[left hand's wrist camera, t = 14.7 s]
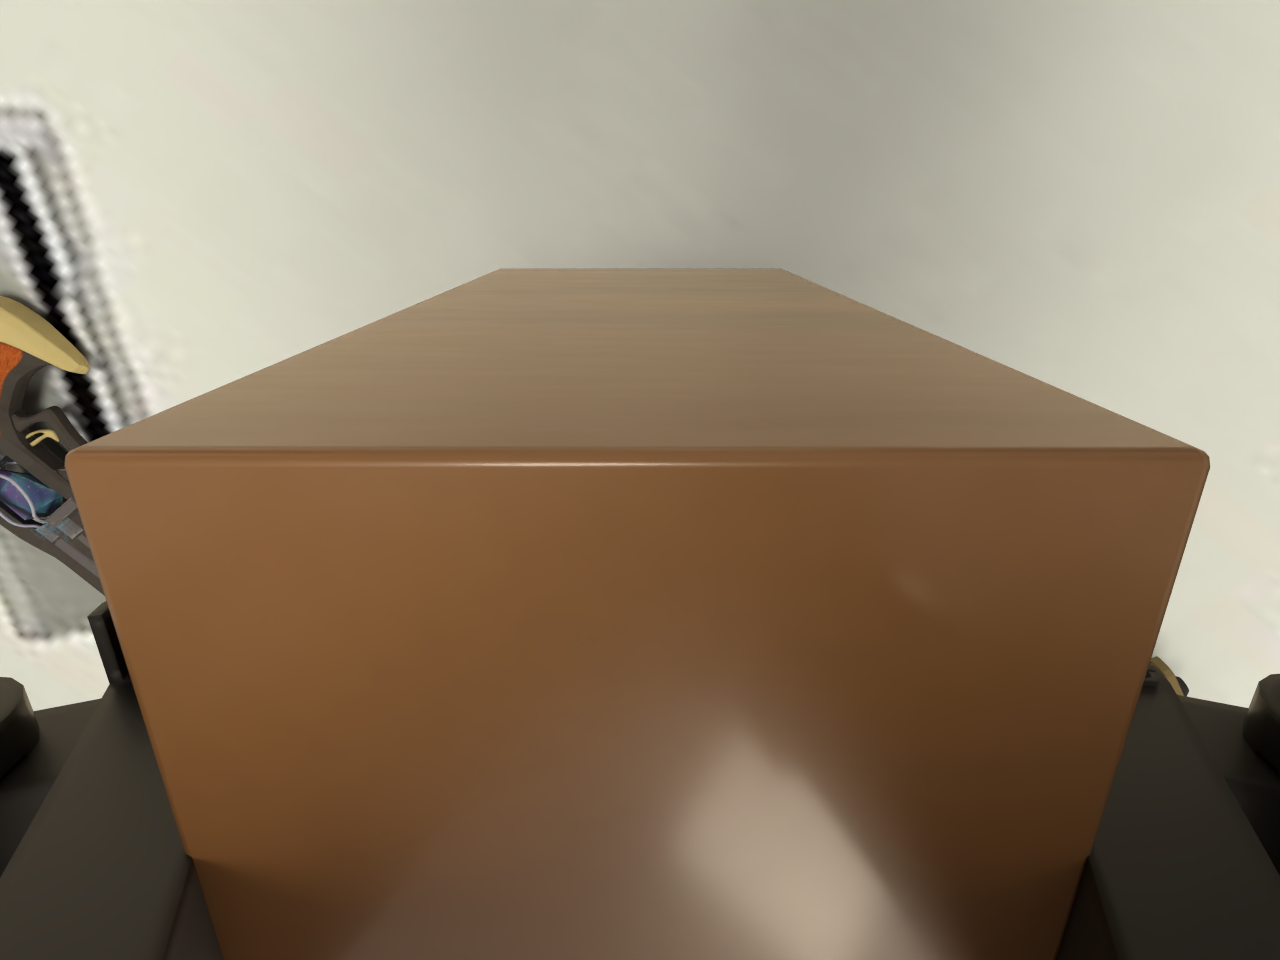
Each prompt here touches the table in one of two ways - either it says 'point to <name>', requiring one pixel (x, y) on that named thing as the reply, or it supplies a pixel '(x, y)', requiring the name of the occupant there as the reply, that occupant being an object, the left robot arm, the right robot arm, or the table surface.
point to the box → (638, 628)
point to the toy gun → (3, 364)
